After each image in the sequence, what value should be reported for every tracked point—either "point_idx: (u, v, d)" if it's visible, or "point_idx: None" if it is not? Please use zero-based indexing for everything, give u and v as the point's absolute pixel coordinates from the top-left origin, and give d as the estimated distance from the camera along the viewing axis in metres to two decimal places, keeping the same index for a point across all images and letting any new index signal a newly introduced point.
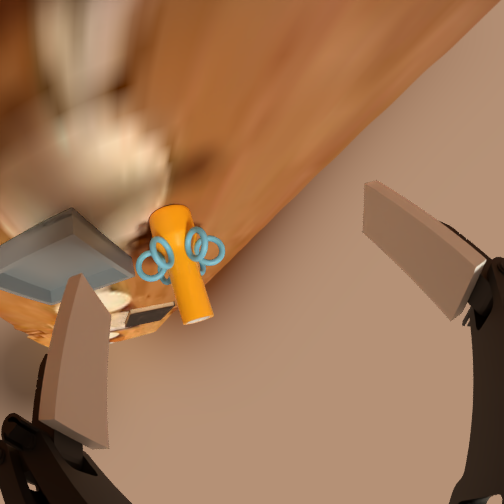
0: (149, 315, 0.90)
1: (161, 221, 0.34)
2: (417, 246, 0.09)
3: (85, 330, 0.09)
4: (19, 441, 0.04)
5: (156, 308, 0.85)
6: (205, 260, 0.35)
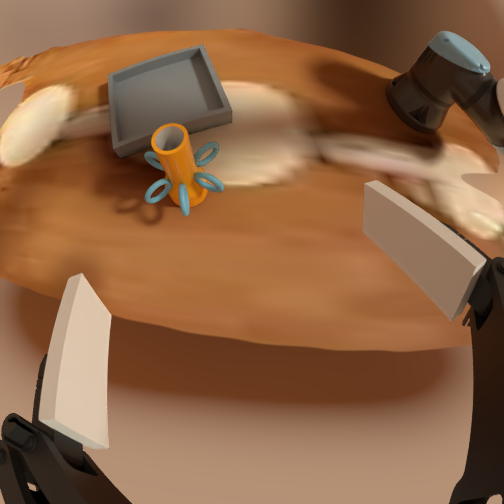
0: None
1: None
2: (417, 246, 0.09)
3: (85, 330, 0.09)
4: (19, 441, 0.04)
5: None
6: (184, 188, 0.33)
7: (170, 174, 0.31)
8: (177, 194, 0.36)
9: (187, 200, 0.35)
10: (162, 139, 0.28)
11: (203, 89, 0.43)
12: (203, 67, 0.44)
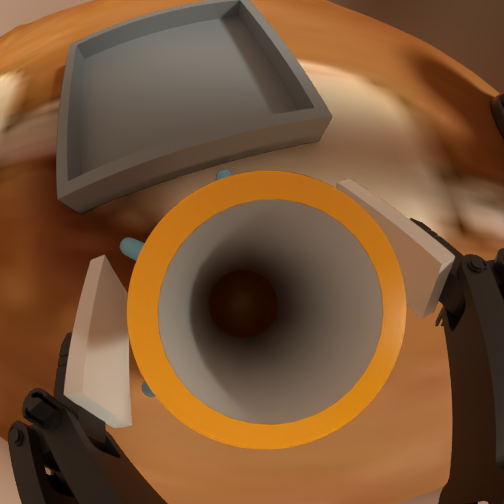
0: None
1: None
2: None
3: (109, 309, 0.09)
4: (41, 417, 0.05)
5: None
6: None
7: None
8: None
9: None
10: (196, 262, 0.05)
11: (253, 68, 0.21)
12: (247, 32, 0.22)
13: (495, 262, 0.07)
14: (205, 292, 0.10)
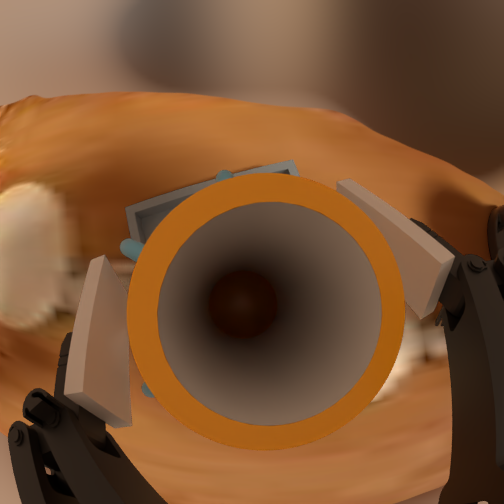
0: None
1: None
2: None
3: (109, 309, 0.09)
4: (41, 417, 0.05)
5: None
6: None
7: None
8: None
9: None
10: (195, 263, 0.05)
11: None
12: None
13: (495, 262, 0.07)
14: (205, 293, 0.10)
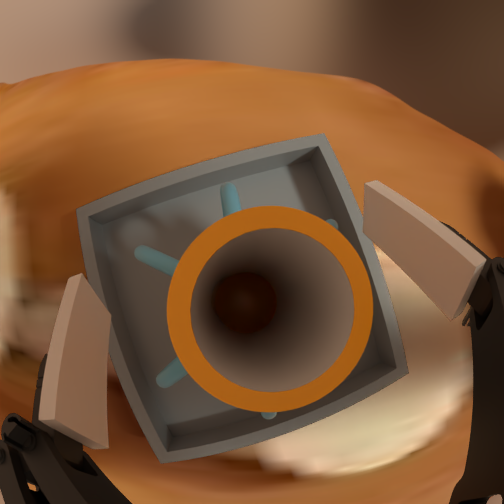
0: None
1: None
2: (417, 246, 0.09)
3: (85, 330, 0.09)
4: (19, 441, 0.04)
5: None
6: None
7: None
8: None
9: None
10: (212, 271, 0.07)
11: None
12: (325, 203, 0.21)
13: None
14: (213, 293, 0.11)
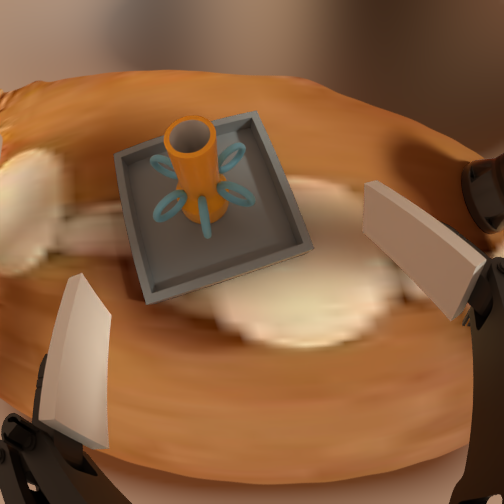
0: None
1: None
2: (417, 246, 0.09)
3: (85, 330, 0.09)
4: (19, 441, 0.04)
5: None
6: (205, 203, 0.25)
7: (187, 185, 0.24)
8: (194, 209, 0.28)
9: (207, 217, 0.28)
10: (177, 138, 0.21)
11: (263, 194, 0.34)
12: (258, 150, 0.35)
13: None
14: None
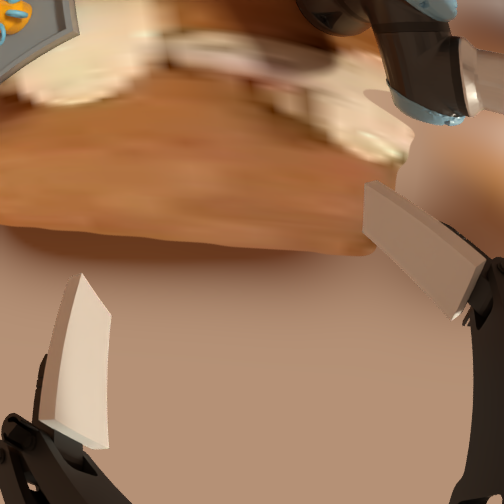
0: None
1: (26, 3, 0.14)
2: (417, 246, 0.09)
3: (85, 330, 0.09)
4: (19, 441, 0.04)
5: None
6: None
7: None
8: None
9: (4, 32, 0.14)
10: None
11: (56, 1, 0.18)
12: None
13: None
14: None
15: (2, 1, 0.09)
